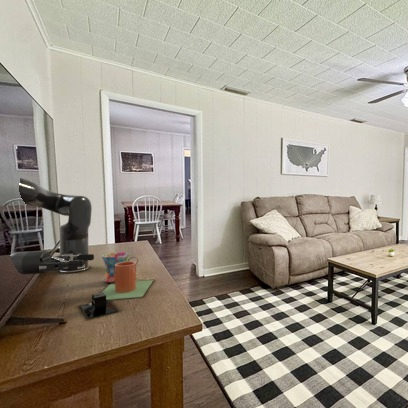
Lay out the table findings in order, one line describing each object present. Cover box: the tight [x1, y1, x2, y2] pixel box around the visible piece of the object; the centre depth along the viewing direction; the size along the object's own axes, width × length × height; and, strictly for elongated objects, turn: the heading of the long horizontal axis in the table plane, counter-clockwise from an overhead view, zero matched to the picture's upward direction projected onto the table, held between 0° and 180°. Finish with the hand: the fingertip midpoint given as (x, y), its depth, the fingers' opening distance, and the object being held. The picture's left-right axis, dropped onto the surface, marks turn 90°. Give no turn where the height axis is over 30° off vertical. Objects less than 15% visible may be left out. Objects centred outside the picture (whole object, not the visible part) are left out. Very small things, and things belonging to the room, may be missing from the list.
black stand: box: [80, 292, 119, 320], centre depth 90 cm, size 12×7×5 cm, turn 51°
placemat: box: [100, 279, 154, 301], centre depth 106 cm, size 18×14×1 cm
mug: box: [101, 252, 140, 284], centre depth 115 cm, size 12×9×11 cm
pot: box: [114, 261, 137, 293], centre depth 105 cm, size 6×6×10 cm
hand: (88, 260), depth 100 cm, fingers open, 8 cm apart
